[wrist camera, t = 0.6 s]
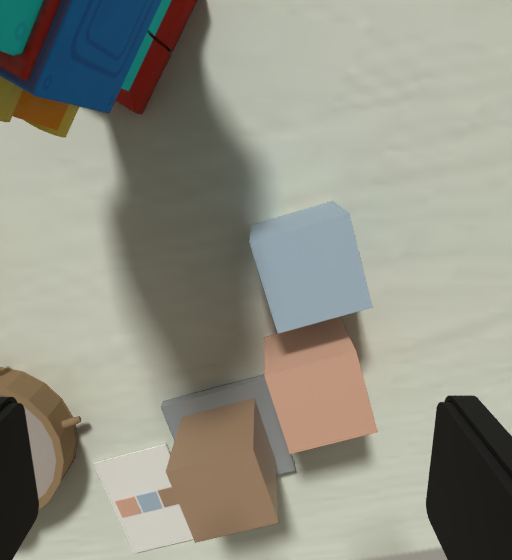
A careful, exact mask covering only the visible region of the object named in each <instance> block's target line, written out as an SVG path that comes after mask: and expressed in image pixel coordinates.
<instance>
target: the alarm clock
mask: <svg viewBox="0 0 512 560" xmlns="http://www.w3.org/2000/svg"><path fill="white" fill-rule="evenodd" d="M0 397H14V398H15V399H16V401H17V403H21V404H23V406H24V409H25V414H26V421H27V427H28V434H29V440H30V447H31V453H32V460H33V466H34V473H35V479H36V486H37V492H38V499H39V510H40V509H41V508H42V507H43V506H45V505H46V504H47V503H48V502H49V501H50V500H51V498H52V496H53V494H54V493H55V491H56V489H57V487H58V486H59V484H60V482H61V481H62V478H63V477H64V475H65V474H66V472H67V470H68V469H69V467H70V465H71V463H72V462H73V460H74V458H75V453H76V447H77V441H78V436H77V432H76V427H75V425H76V424H78V423H79V422H81V418H80V416H79V417H73V416H72V415H71V413H70V411H69V410H68V408H67V406H66V404H65V403H64V401H63V399H62V398H61V397H60V396H58V395H57V394H56V393H55V392H54V391H53V390H52V389H51V388H50V387H49V386H48V385H47V384H45V383H44V382H42V381H40V380H38V379H36V378H34V377H32V376H30V375H28V374H26V373H25V372H22V371H17V370H13V369H8V368H3V367H0ZM39 510H38V511H39Z"/></svg>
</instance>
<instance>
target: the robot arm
mask: <svg viewBox="0 0 512 560" xmlns="http://www.w3.org/2000/svg"><path fill="white" fill-rule="evenodd" d="M426 509H427V514H428V518H429V521H430V523H431V525H432V527H433V529H434V531H435V533H436V536H437V538H438V540H439V542H440V544H441V546H442V548H443V550H444V553H445V555H446V557H447V559H448V560H512V436H511V435H510V434H509V433H508V432H507V431H506V429H505V428H504V427H503V426H502V425H501V424H500V423H499V422H498V420H497V419H496V418H495V417H494V416H493V415H492V414H491V413H490V412H489V410H488V409H487V408H486V407H485V406H484V405H483V404H482V403H481V401H480V400H479V399H478V398H477V397H475V396H447V397H446V399H445V402H440V403H439V404H438V406H437V411H436V420H435V429H434V437H433V446H432V455H431V463H430V472H429V481H428V489H427V498H426ZM38 510H39V499H38V492H37V486H36V479H35V473H34V466H33V460H32V453H31V447H30V440H29V434H28V427H27V421H26V414H25V409H24V406H23V404H21V403H17V401H16V399H15V398H14V397H0V560H12V559H13V557H14V556H15V554H16V552H17V551H18V549H19V547H20V546H21V544H22V542H23V540H24V539H25V537H26V535H27V534H28V532H29V530H30V529H31V527H32V525H33V524H34V522H35V520H36V518H37V515H38Z"/></svg>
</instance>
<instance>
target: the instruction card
mask: <svg viewBox="0 0 512 560" xmlns="http://www.w3.org/2000/svg"><path fill="white" fill-rule="evenodd" d="M170 455H171V454H170V451H169V449H168V447H167V444H163V445H159V446H156V447H152V448H148V449H144V450H140V451H136V452H132V453H128V454H125V455H121V456H117V457H113V458H109V459H105V460H101V461H98V462H94V464H93V465H94V467H95V469H96V471H97V473H98V475H99V478H100V480H101V482H102V484H103V486H104V488H105V491H106V493H107V495H108V497H109V499H110V501H111V504H112V506H113V508H114V510H115V512H116V514H117V517H118V519H119V521H120V523H121V525H122V527H123V530H124V532H125V534H126V536H127V538H128V540H129V543H130V545H131V547H132V549H133V551H134V553H138V552H142V551H146V550H150V549H155V548H159V547H163V546H167V545H171V544H176V543H180V542H184V541H188V540H192V539H193V537H192V534H191V532H190V529H189V527H188V524H187V522H186V520H185V517H184V515H183V512H182V510H181V508H180V505H179V503H178V500H177V498H176V496H175V493H174V491H173V488H172V486H171V484H170V481H169V479H168V476H167V474H166V468H167V465H168V462H169V458H170Z"/></svg>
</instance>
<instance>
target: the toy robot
mask: <svg viewBox="0 0 512 560" xmlns="http://www.w3.org/2000/svg"><path fill="white" fill-rule="evenodd" d="M196 2H197V0H0V121H3V122H10V120H11V118H12V116H14V117H17V118H20V119H23V120H25V121H26V122H28V123H29V124H31V125H33V126H35V127H37V128H38V129H41V130H43V131H45V132H48V133H50V134H53V135H56V136H60V137H66V135H67V133H68V131H69V129H70V126H71V124H72V122H73V120H74V117H75V115H76V113H77V111H78V108H79V106H80V107H84V108H89V109H93V110H97V111H102V112H106V113H110V111H111V109H112V106H113V104H114V102H115V101H117V102H119V103H120V104H122V105H124V106H125V107H127V108H129V109H130V110H132V111H134V112H136V113H139V114H142V113H143V111H144V109H145V107H146V105H147V103H148V101H149V99H150V97H151V95H152V92H153V90H154V88H155V86H156V84H157V82H158V80H159V78H160V76H161V74H162V72H163V70H164V68H165V66H166V64H167V62H168V59H169V57H170V55H171V54H170V53H169V52H168V49H169V50H170V51H173V49H174V47H175V45H176V43H177V41H178V39H179V37H180V35H181V33H182V31H183V28H184V26H185V24H186V22H187V20H188V18H189V16H190V14H191V12H192V10H193V8H194V6H195V4H196Z"/></svg>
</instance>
